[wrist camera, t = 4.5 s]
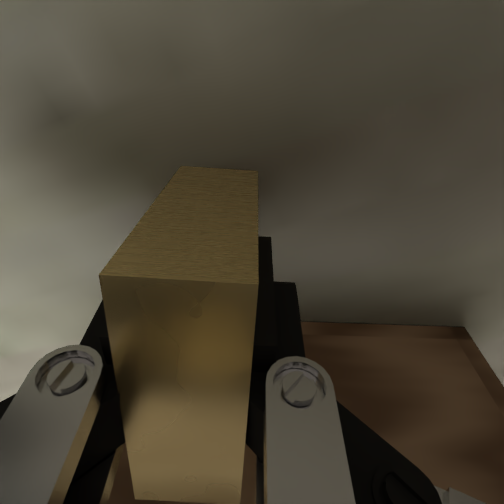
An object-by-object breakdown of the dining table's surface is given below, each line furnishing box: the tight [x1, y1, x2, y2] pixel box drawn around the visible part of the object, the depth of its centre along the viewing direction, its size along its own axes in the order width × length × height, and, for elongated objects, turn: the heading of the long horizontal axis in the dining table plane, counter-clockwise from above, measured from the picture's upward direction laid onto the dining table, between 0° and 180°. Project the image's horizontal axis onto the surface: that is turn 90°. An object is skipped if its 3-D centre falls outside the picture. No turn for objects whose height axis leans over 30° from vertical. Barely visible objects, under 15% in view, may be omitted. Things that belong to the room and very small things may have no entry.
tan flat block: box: [99, 166, 259, 504], centre depth 10 cm, size 2×6×6 cm, turn 177°
